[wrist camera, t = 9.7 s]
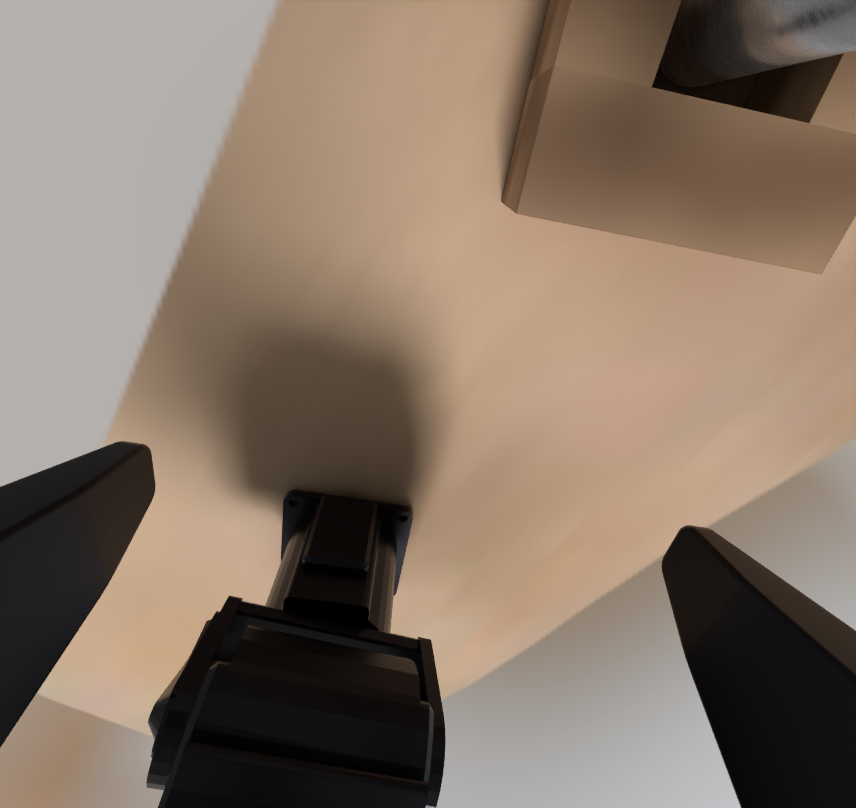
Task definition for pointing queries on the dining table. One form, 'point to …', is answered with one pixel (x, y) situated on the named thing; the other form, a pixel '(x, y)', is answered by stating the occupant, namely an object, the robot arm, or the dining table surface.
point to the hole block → (682, 143)
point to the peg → (753, 37)
